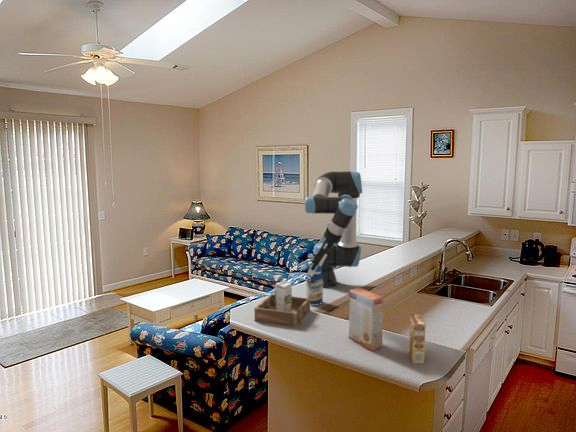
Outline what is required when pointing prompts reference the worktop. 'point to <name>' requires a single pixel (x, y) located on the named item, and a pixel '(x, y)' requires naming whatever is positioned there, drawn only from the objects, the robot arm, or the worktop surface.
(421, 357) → the candy box
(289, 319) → the crate
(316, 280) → the beverage bottle
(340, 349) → the worktop surface
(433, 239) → the worktop surface
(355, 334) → the cracker box
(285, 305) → the syrup box
